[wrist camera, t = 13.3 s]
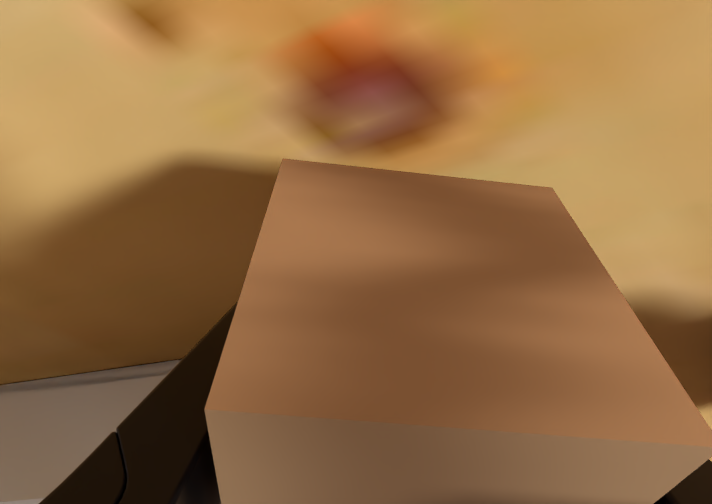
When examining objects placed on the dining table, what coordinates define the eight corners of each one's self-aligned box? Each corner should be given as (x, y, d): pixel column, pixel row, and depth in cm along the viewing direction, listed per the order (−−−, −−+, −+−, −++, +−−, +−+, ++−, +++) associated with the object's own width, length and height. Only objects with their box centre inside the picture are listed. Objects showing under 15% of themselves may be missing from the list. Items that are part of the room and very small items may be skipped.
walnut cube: (551, 187, 8) (722, 448, 4) (476, 356, 11) (536, 597, 7) (282, 158, 8) (204, 409, 4) (280, 340, 11) (234, 582, 7)
